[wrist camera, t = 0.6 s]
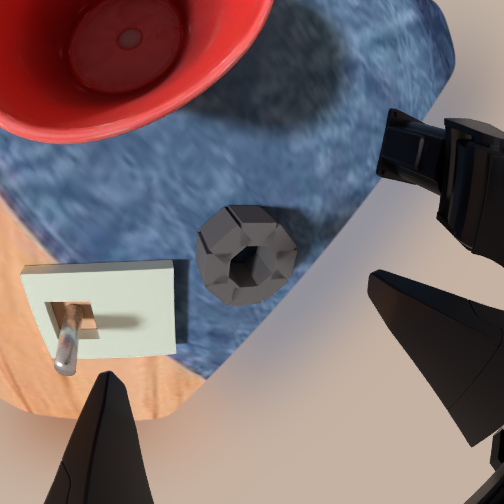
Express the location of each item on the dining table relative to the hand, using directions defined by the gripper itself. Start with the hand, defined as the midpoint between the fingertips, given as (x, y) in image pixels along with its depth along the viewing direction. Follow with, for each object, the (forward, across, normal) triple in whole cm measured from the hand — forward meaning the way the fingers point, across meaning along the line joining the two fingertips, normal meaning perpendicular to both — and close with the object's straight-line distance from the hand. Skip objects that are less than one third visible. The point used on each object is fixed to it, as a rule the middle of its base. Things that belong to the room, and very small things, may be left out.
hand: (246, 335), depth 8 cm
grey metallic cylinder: (+12, +12, +5) cm, 18 cm away
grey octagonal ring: (+12, -2, +5) cm, 13 cm away
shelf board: (+12, +10, +6) cm, 17 cm away
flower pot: (+13, +1, -12) cm, 17 cm away
